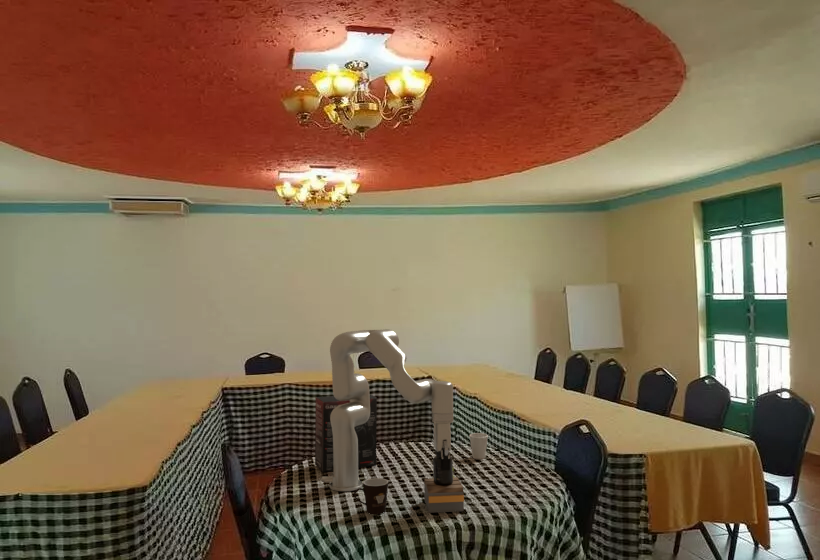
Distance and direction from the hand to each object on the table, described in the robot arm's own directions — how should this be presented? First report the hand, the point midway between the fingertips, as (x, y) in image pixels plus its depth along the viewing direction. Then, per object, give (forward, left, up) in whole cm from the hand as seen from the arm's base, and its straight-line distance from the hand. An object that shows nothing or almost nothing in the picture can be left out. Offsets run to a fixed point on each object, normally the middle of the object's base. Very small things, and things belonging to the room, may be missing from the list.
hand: (443, 466), depth 222 cm
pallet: (0, 0, -7) cm, 7 cm away
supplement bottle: (0, 0, -6) cm, 6 cm away
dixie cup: (+25, +60, -14) cm, 66 cm away
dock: (0, 0, -14) cm, 14 cm away
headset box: (-34, +55, -14) cm, 66 cm away
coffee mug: (-25, -2, -14) cm, 29 cm away
